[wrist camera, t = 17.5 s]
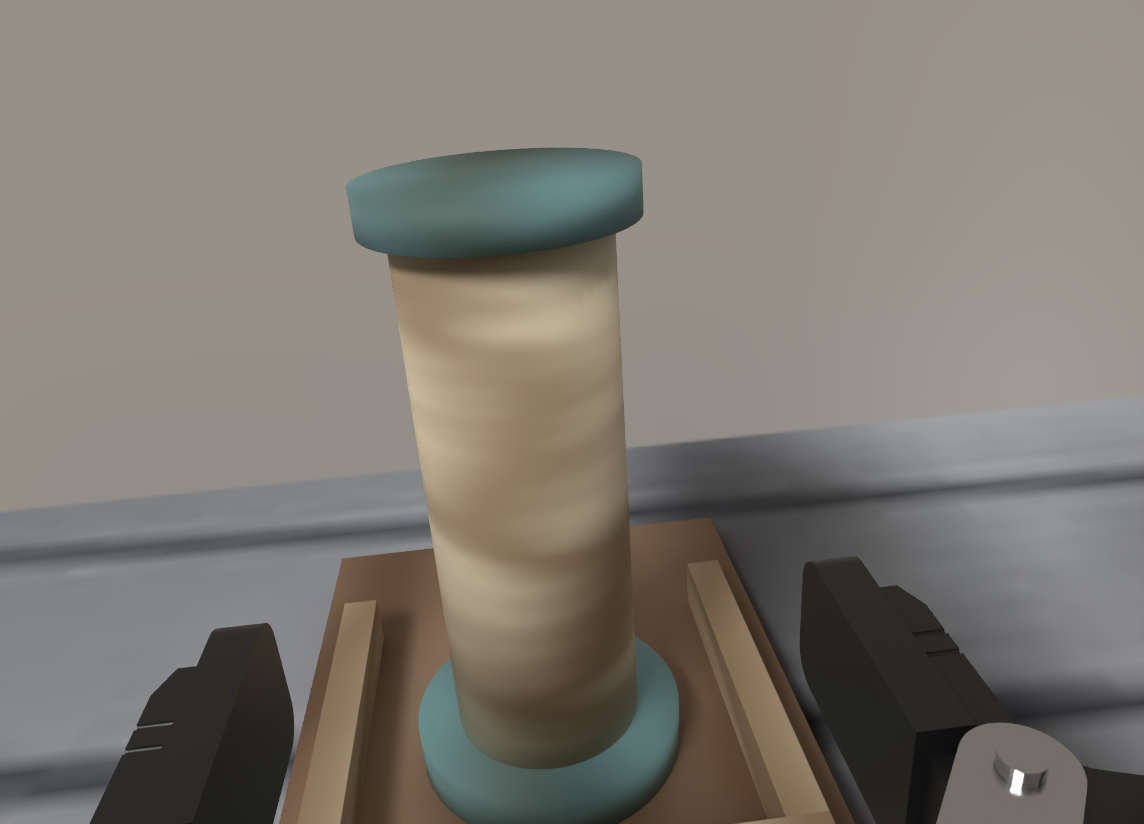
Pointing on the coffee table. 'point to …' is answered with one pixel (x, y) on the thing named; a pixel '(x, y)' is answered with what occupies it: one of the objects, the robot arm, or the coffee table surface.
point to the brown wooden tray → (661, 619)
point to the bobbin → (525, 479)
